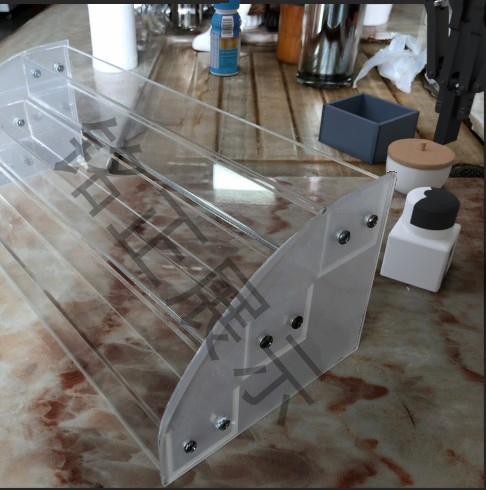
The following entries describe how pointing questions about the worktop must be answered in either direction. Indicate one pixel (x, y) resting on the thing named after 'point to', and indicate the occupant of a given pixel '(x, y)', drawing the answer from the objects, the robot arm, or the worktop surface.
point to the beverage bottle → (225, 39)
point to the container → (423, 239)
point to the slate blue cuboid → (366, 126)
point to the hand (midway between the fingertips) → (444, 140)
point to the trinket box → (419, 163)
